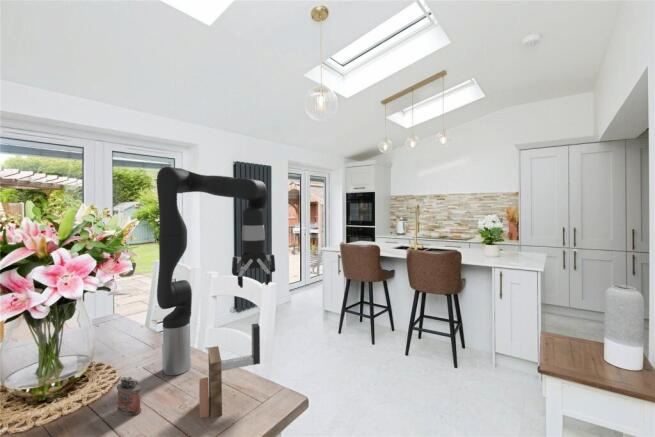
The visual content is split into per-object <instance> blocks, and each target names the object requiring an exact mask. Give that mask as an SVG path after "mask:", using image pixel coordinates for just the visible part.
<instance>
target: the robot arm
mask: <svg viewBox="0 0 655 437" xmlns="http://www.w3.org/2000/svg"><path fill="white" fill-rule="evenodd" d="M156 191H157V199H158V212H159V213H158V221H159V222H158V224H159V228H158V248H159V250H158V253H159V255H158V256H159V258H158V259H159V260H158V262H159V264H158V266H159V268H158V276H157V287H156V298H157V299H156V300H157V304H158V306H159V308H160V309H162V310H167V309H172V308H173V310H172V311H171V312H170V313H168V314H167V315H165V316H164V317H163V319H162V354H161V355H162V356H161V358H162V370H163V374H165V375H167V376H177V375H181V374H184V373H186V372H188V371H190V369H191V367H192V363H191V362H192V359H191V353H192V352H191V346H192V345H191V316H192V301H193V300H192V298H193V297H192V296H193V294H192V292H193V291H192V286H191V283H190V282H189V281H188V280H185V279H181V280H177V281H176V280H175V281H173V275H174V272H175V269H176V267H177V265H178V264H179V262H180V260H181V258H182V257H183V255H184V254H185V253H186V250H187V246H188V229H187V225H186V223H185V221H184V219H183V217H182V214H181V213H180V210H179V207H178V194H183V193H184V194H185V193H195V192H197V193H205V194H210V195H213V196H217V197H224V198H234V199H240V200H244V201H248V203H247V206H246V208H244V209H243V210H242V230H241V246H242V247H241V256H235V255H233V256H232V260H231V261H232V262H231V274H232V275H233V276H236V277H237V285H238V287H240V288H241V289H243V288H244V286H243V284H244V282H243V281H244V280H243V276H244V273H246V271H247V270H248V269H249V270H253V269H259V268H261V269H263V271H264V272H265V273H264V284H265V286H268V285H269V284H270V283H271V274H272V273H275V271H276V261H275V255H274V254H272V253H270V254H267V255H266V233H265V231H266V230H265V225H264V224H265V216H264V213H265V210H266V209H265V208H266V205H267V198H268V188H267V186H266V184H265V183H264V182H263V181H261V180H258V179H252V178H243V177H242V178H241V177H233V176H225V175H205V174H200V173H196V172H192V171H191V170H190V171H189V170H187V169H184V168H180V167H179V168H178V167H171V166H163V167H161V168H160V169H159V171H158V172H157V175H156ZM266 260H267V261H269V268H268V267H267V266H266V264H265V261H266ZM240 261H241V262H242V265H241V267H240V269H239V270H237V268H238V264H239V263H240Z"/></svg>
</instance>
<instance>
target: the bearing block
mask: <svg viewBox="0 0 655 437" xmlns="http://www.w3.org/2000/svg"><path fill="white" fill-rule="evenodd" d="M207 350H208V389H209V411H210V417H211V419H212V418H216V417H221V416H222V415H223V388H222V386H223V385H222V384H223V383H222V382H223V381H222V380H223V379H222V375H223V374H222V372H223V371H221V361H222V359H221V353H220V347H219V346H211V347H208V349H207Z"/></svg>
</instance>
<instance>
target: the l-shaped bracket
mask: <svg viewBox="0 0 655 437" xmlns="http://www.w3.org/2000/svg"><path fill="white" fill-rule="evenodd" d="M260 329H261V327H260V324H259V323H252V324H251V354H249V355H245V356H239V357H233V358H229V359H223V360H221V371H222V372H224V371H229V370H234V369H238V368H244V367H248V366H255V365H260V364H261V332H260V331H261V330H260Z"/></svg>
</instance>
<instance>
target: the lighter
mask: <svg viewBox="0 0 655 437" xmlns="http://www.w3.org/2000/svg"><path fill="white" fill-rule="evenodd" d="M138 384H139V381H138V379H136V378H132V376H127V377H126V376H123V377H121V378H120V383H118V384H117V385H116V390H117V412H118V413H119V414H122V415H125V416H129V417H137V416H139V415H140V414H141V412H142V408H141V389H142V388H141V385H138Z"/></svg>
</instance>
